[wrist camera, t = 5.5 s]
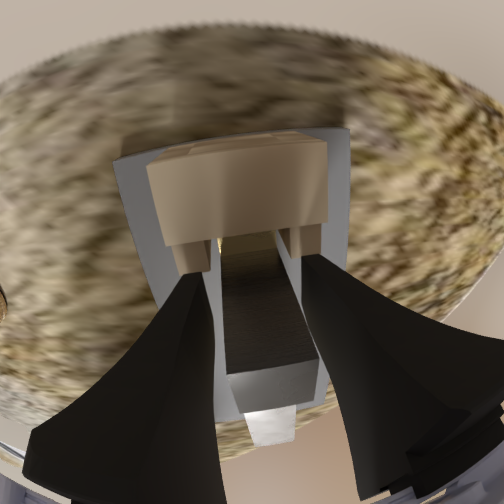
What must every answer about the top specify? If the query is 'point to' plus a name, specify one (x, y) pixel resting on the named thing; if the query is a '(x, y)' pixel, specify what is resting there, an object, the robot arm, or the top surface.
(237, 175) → the socket block
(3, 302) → the sprinkles bottle
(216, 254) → the base board
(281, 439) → the outer sleeve
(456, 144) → the top surface
